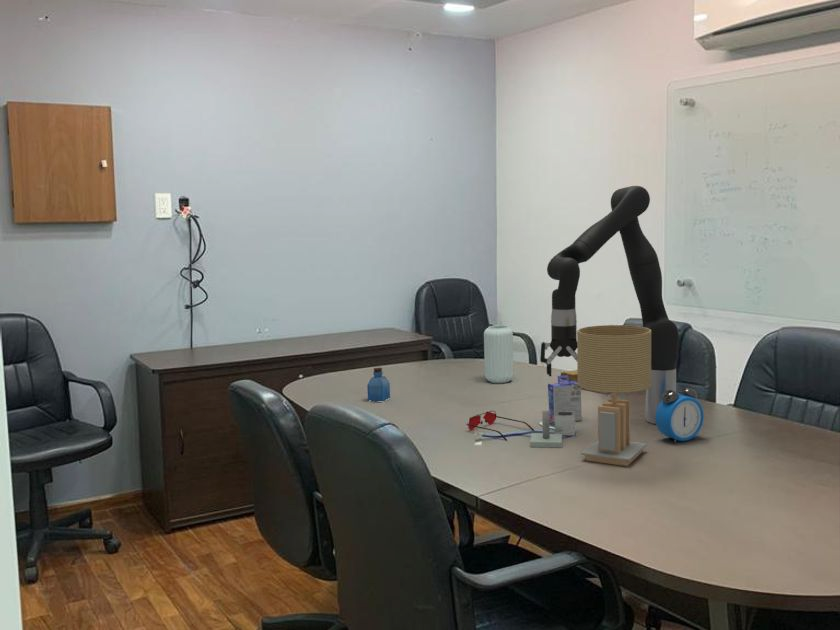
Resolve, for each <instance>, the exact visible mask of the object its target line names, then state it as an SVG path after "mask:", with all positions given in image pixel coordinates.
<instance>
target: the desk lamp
mask: <svg viewBox="0 0 840 630" xmlns="http://www.w3.org/2000/svg"><path fill="white" fill-rule="evenodd" d="M576 353H577V361H576V364H578V385H579V386H580V387H581V389H582V388H583V389H586V390H590V391H596V392H604V393H612V394H611V398H608V401H604V402H603V403H602V405H598V406H597V432H598V433H597V434H598V435H597V440H596V441H594V442H593V443H592V444H591V445H589V446H588V447H587V448H585V449H584V450H583V451H581V452H580V455H582V456H585V458H586V459H585V461H590V462H596V463H601V464H603V463H604V464H610V465H615V466H616V465H617V466H625V467H629V465H631V463H632V462H633V461H634V460H635V459H637V458H638V457H639V456H640V454H642V453H643V449H644V448H646V447H647V446H648V443H644V442H639V441H631V400H627V399H618V398H617V396H618V395H617V394H625V393H626V394H628V393H629V394H630V393H635V392H643V391H646V389H648V388H650V387H651V330H650V329H648V328H644V327H643V326H638V325H627V324H626V325H621V324H618V325H617V324H615V325H614V324H610V325H609V324H607V325H606V324H605V325H604V324H603V325H593V326H591V325H590V326H585V327H581V328H578V329H577V349H576ZM590 391H589V392H590Z"/></svg>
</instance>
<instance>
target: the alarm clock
mask: <svg viewBox="0 0 840 630" xmlns="http://www.w3.org/2000/svg"><path fill="white" fill-rule="evenodd" d="M697 398H698V394H697V392H696V390H694V389H693V387H683V388H682V389H681V390H679V391H677V390H676V391H674V390H668V391H666V392H665V393H663V395H662V401H661V403H660V404H659V406H658V408H657V411H656V424H655V425H656V426H657V430H658V431H659V432H660V433H661V434H662V435H664V436H666V437H668V438H671V439H673V440H674V443H677V441H680V442H687V441H690V440H691V439H692V440H695V438H694V437H696V436H697V435H698V434H699V432H700V431H701V428H702V426H703V423H704V417H705V414H704V410H703V406H702V404H701V403H700V401H699V400H698V399H697Z"/></svg>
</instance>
